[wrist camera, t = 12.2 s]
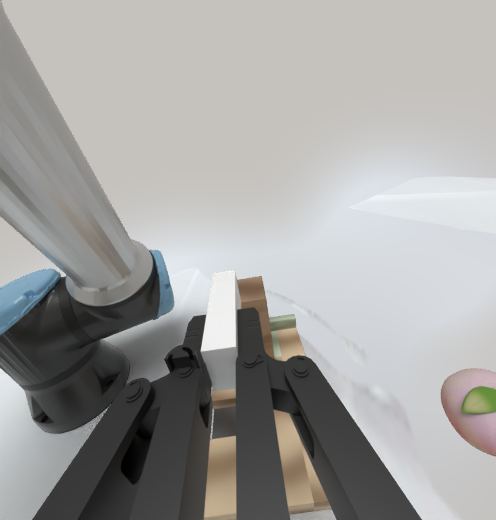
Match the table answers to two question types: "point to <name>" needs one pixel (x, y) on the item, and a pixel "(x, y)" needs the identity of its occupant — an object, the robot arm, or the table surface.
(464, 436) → the decorative fruit
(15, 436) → the table surface
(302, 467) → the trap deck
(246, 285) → the walnut block
